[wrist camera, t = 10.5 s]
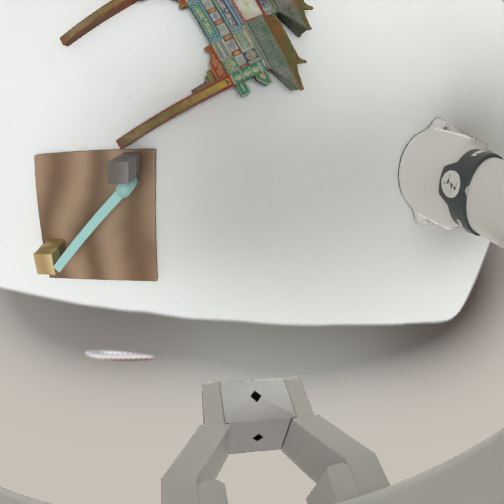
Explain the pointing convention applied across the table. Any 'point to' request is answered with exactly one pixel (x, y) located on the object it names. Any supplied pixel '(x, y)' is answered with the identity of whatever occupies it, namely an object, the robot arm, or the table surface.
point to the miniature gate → (226, 47)
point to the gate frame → (86, 206)
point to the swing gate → (96, 221)
